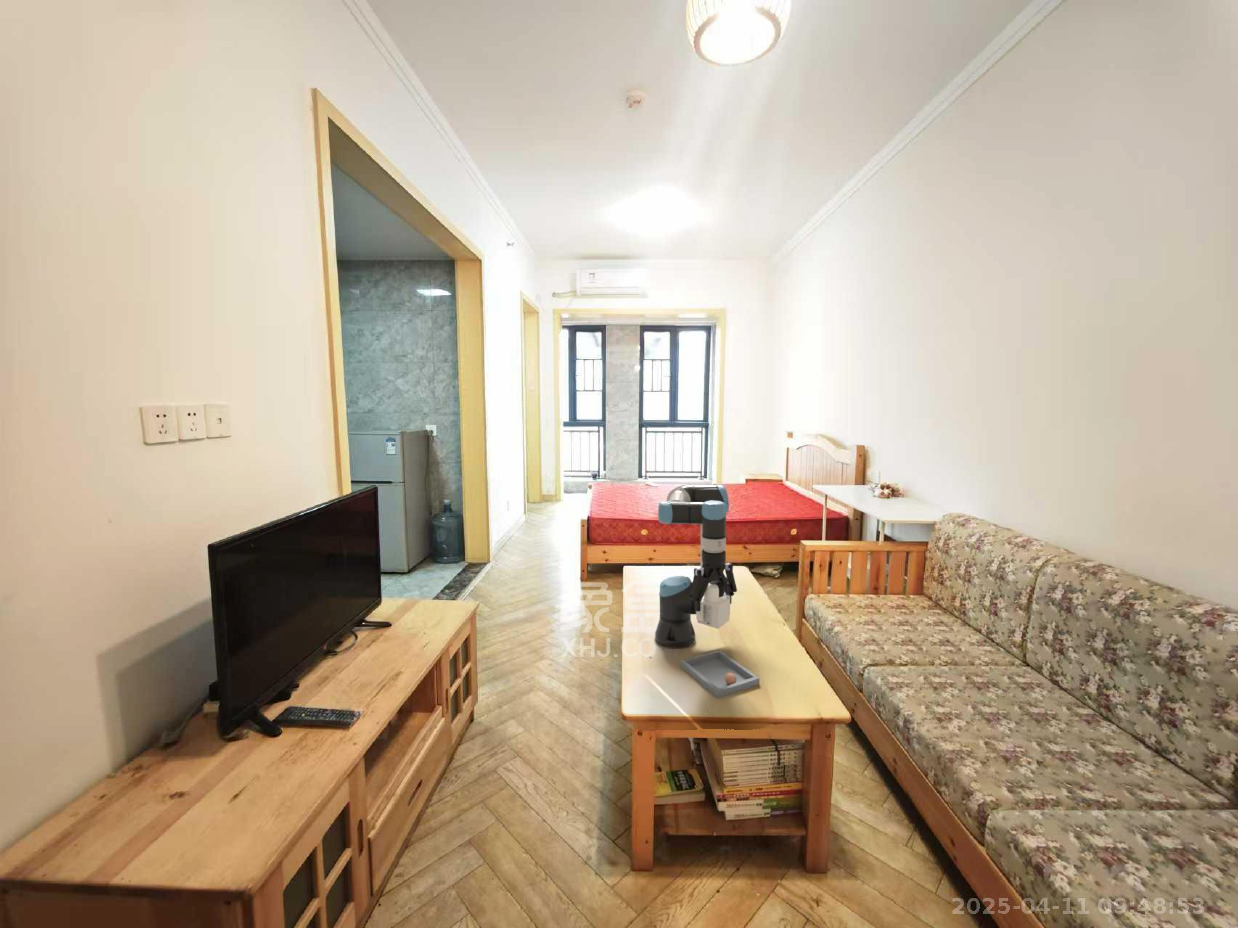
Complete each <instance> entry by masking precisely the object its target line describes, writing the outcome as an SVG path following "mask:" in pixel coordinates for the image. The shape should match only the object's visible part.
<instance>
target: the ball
mask: <svg viewBox="0 0 1238 928" xmlns="http://www.w3.org/2000/svg"><path fill="white" fill-rule="evenodd" d="M725 681H726V683H727V684H728V685H731V684H734V683H736V676H735V675H734V674H733V673H728V674H726V676H725Z"/></svg>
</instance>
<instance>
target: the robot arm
mask: <svg viewBox="0 0 1238 928" xmlns="http://www.w3.org/2000/svg"><path fill="white" fill-rule="evenodd" d="M657 510H658V512H657V517H658V522H659V523H660V524H667V525H670V524H671V525H672V524H674V525H700V568H694V569H693V580H692V579H691V578H690V577H688V576H684V575H675V576H670V577H667V578H664V579H663V580H662V581H661V582H660V584H659V593H658V596H659V620H658V622H657V623H658V624H657V626H656V630H655V632H654V633H655V635H654V636H655V637H654V640H655V641H656V642H657V643H658V644H659V645H661V646H663V647H666V648H669V649H683V648H689V647H691V646H692V645H694V644H695V642H696V632H695V629H694V625H693V623H692V617H691V615H695V616H696V617H695V618H696V620H697V619H698V620H699V621H701V622H703V601H701V600H702V598H703V597H704V593H705V591H706V589H707V587H708V584H709V583H710V582H711V581H717V582H720V583H722V584H723V585H724V597H726V598H729V599H730V605H731V604H732V600H733V599H732V597H733V596H734V595H735V593H737V591H738V588H737V585H736V580H735V576H734V571H733V570H734V565H733V564H732V563H730V562H727V559H726V558H727V557H726V555H727V553H726V549H727V542H726V541H727V535H726V533H727V530H726V529H727V513H729V511H730V503H729V496H728V490H727V488H726V486H725V485H723V484H715V483H713V484H699V483H698V484H692V483H691V484H683V485H679V486H677V487H675V488H673V489H672V490H670V492H668V493H667V497H666V501H660V502H659V503H658V509H657ZM724 571H725V572H724ZM730 615H731V611H730V612H729V616H730Z"/></svg>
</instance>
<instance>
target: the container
mask: <svg viewBox="0 0 1238 928" xmlns="http://www.w3.org/2000/svg"><path fill="white" fill-rule="evenodd" d="M701 601H703V622H701V621H699V620H698V619H696V621H697V623H698V624H701V625H704V626H708V627H710V628H714V629H718V630H719V629H720V628H721V627H723V626H725V625H727V623H728V622H730V615H729V612H730V613H731V604H730V599H729V598H726V597H724V585H723V584H722V583H720V582H717V581H711V582H710V583H709V584H708V587H707V589H706V591H705V593H704V597H703V598H702V600H701Z"/></svg>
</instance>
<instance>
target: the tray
mask: <svg viewBox="0 0 1238 928" xmlns="http://www.w3.org/2000/svg"><path fill="white" fill-rule="evenodd" d="M680 667H681V669H683V670H684V671H685V672H687V674H689V676H691V677H693V679H695V681H696V682H698V683H699V684H700V685H702V686H703V688H705V689H706V690H708V691H709V692H710V693H711V694H712V695H713V696H715V698H716V699H720V698H724V697H727V696H729V695H732V694H734V693H737V692H740V691H743V690H746V689H751V688H753V687H756V686H758V685H760V677H759V676H757V675H756V674H755V673H753V672H752V671H750V670H749V669H747V668H746V667H745V666H743V665H742V664H741V663H739V662H737V661H736V660H735V659H733V658H732V657H730V656H729V655H728V654H726V653H725V652H723V651H722V650H720V649H717V650H715V651H710V652H707V653H703V654H699V655H696V656H692V657H689V658H685V659H683V660H680ZM728 673H733V674H734V675H735V676H736V683H734V684H731V685H728V684H727V683H726V681H725V676H726V674H728Z"/></svg>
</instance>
